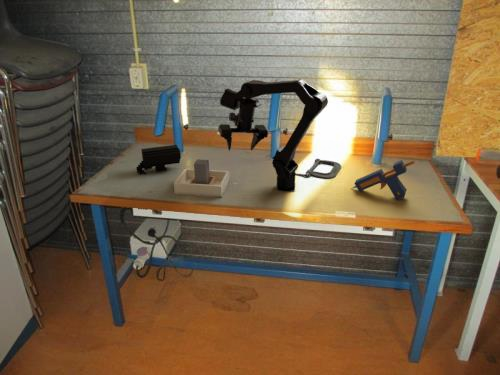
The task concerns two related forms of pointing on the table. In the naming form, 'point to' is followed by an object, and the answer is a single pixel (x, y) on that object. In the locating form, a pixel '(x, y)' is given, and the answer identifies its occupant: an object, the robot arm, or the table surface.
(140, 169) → the security camera
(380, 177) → the glue gun
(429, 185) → the table surface
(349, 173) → the table surface
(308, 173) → the c clamp
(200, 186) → the box
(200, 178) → the plug
